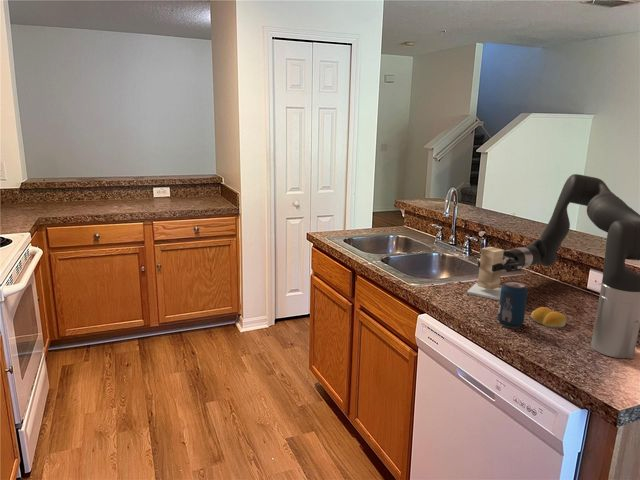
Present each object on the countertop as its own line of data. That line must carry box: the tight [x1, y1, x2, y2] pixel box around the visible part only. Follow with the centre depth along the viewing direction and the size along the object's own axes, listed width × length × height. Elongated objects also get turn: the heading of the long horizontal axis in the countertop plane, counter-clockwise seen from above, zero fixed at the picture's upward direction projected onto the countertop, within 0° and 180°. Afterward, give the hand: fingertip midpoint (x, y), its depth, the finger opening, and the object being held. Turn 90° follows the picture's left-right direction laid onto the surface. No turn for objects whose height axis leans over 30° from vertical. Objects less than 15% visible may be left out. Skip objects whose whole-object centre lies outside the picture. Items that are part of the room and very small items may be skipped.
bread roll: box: [530, 306, 567, 328], centre depth 137 cm, size 8×9×4 cm
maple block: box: [477, 246, 505, 290], centre depth 158 cm, size 5×5×13 cm
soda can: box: [497, 280, 528, 329], centre depth 134 cm, size 7×7×12 cm
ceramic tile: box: [466, 282, 501, 302], centre depth 160 cm, size 11×11×1 cm
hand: (486, 266), depth 156 cm, fingers closed on maple block, 5 cm apart
